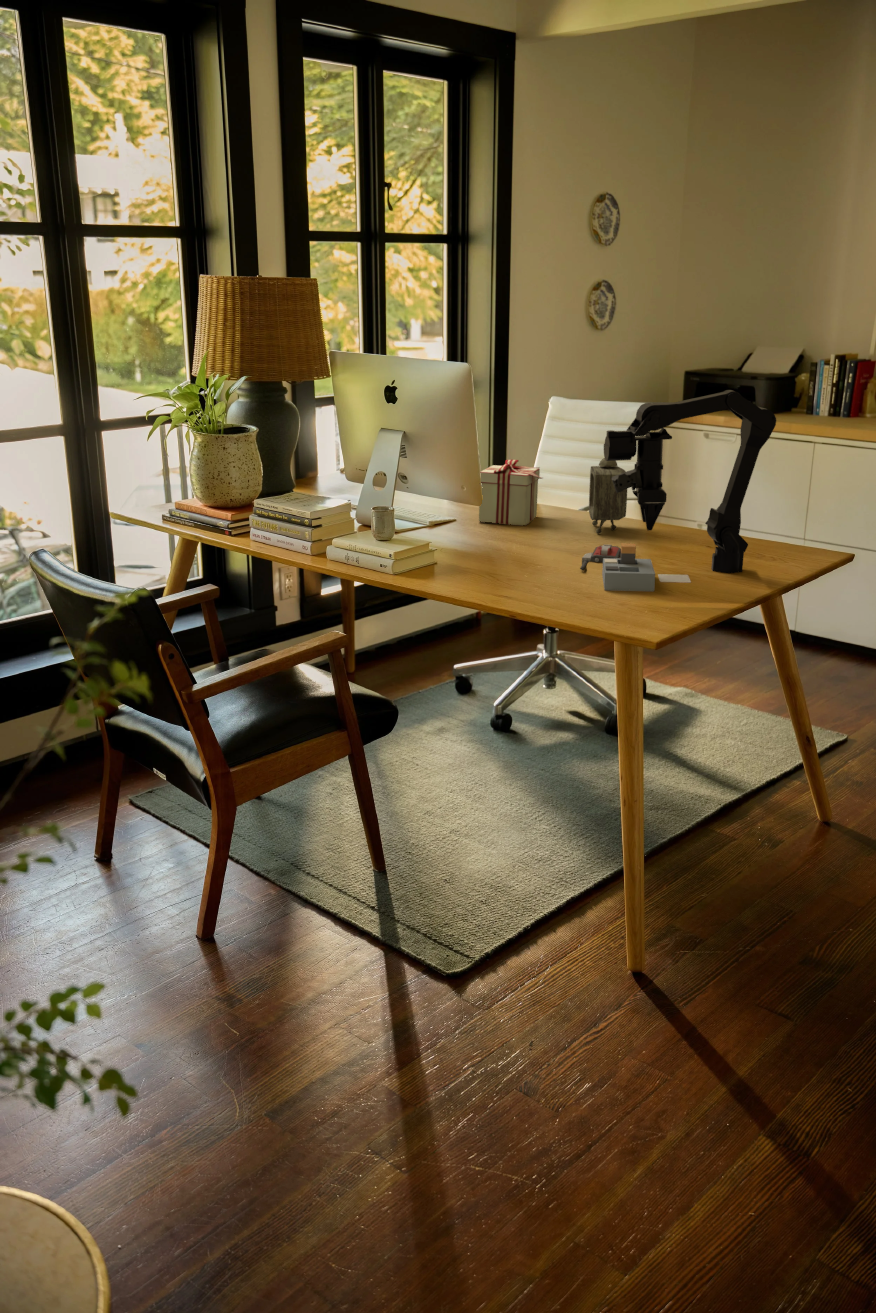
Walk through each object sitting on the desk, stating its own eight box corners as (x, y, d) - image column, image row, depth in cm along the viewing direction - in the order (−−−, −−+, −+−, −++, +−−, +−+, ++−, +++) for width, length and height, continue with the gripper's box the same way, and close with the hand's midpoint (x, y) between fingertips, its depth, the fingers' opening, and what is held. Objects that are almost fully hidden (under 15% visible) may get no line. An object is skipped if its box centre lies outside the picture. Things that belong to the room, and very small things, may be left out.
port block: (649, 579, 255) (650, 557, 253) (653, 595, 242) (655, 572, 240) (602, 578, 256) (603, 556, 254) (604, 594, 243) (605, 571, 241)
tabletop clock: (588, 525, 314) (591, 437, 306) (619, 525, 314) (623, 437, 306) (592, 535, 301) (596, 444, 293) (625, 535, 300) (630, 444, 292)
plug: (633, 577, 253) (635, 543, 250) (634, 580, 250) (635, 546, 247) (619, 576, 253) (621, 543, 251) (620, 580, 250) (621, 546, 248)
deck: (687, 578, 255) (687, 574, 255) (690, 586, 249) (691, 582, 248) (657, 578, 256) (657, 574, 256) (659, 585, 249) (660, 581, 249)
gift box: (539, 526, 313) (541, 467, 307) (477, 524, 317) (477, 465, 311) (548, 515, 328) (549, 458, 323) (488, 513, 332) (488, 456, 327)
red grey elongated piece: (587, 555, 280) (577, 574, 262) (588, 538, 279) (577, 556, 260) (621, 557, 278) (613, 576, 260) (622, 540, 277) (614, 558, 258)
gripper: (611, 454, 259) (609, 518, 264) (617, 466, 241) (615, 535, 246) (658, 453, 258) (656, 517, 263) (668, 465, 240) (665, 534, 245)
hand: (647, 526), depth 254 cm, fingers open, 9 cm apart
